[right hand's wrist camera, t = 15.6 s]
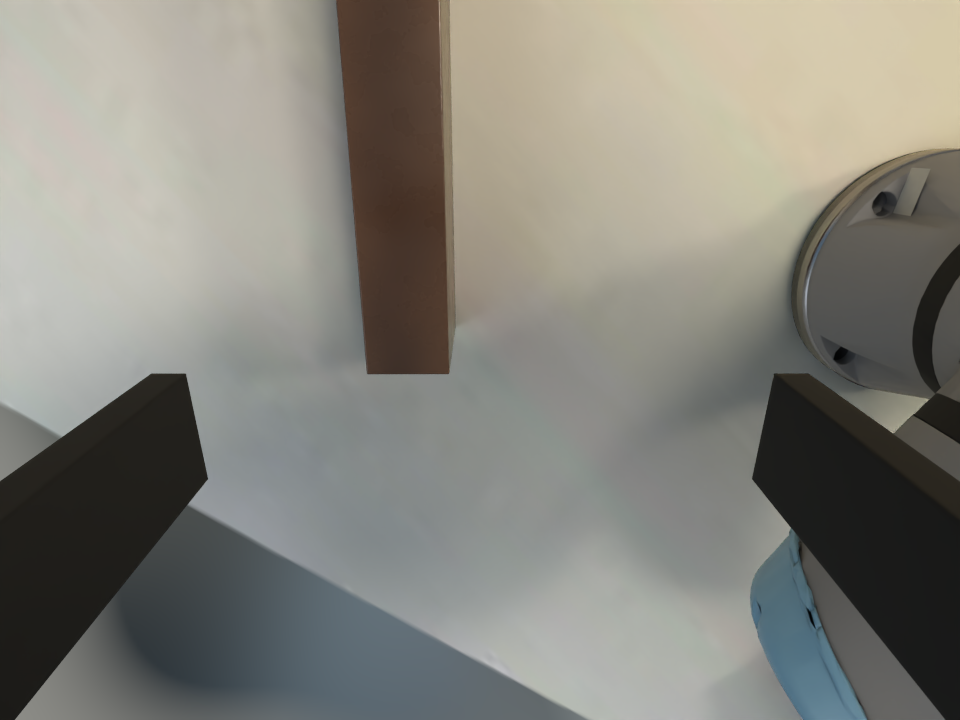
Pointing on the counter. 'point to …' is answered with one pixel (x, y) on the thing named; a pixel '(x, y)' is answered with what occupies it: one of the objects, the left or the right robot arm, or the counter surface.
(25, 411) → the counter surface
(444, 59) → the walnut beam
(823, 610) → the right robot arm
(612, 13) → the counter surface
